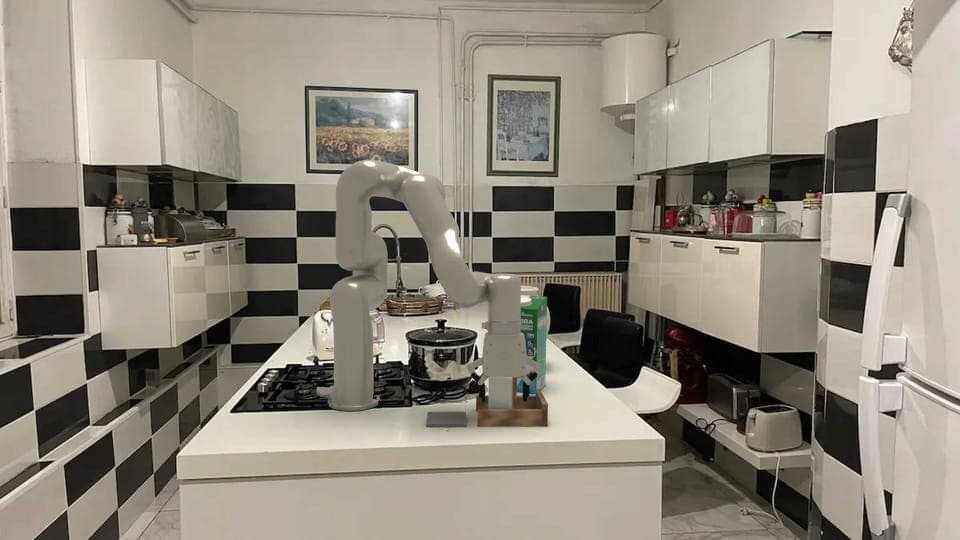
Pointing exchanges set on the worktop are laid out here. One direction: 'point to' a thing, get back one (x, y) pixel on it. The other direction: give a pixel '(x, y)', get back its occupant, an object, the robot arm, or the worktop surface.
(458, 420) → the pad
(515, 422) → the holder
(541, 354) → the milk carton
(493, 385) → the small box
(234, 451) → the worktop surface
